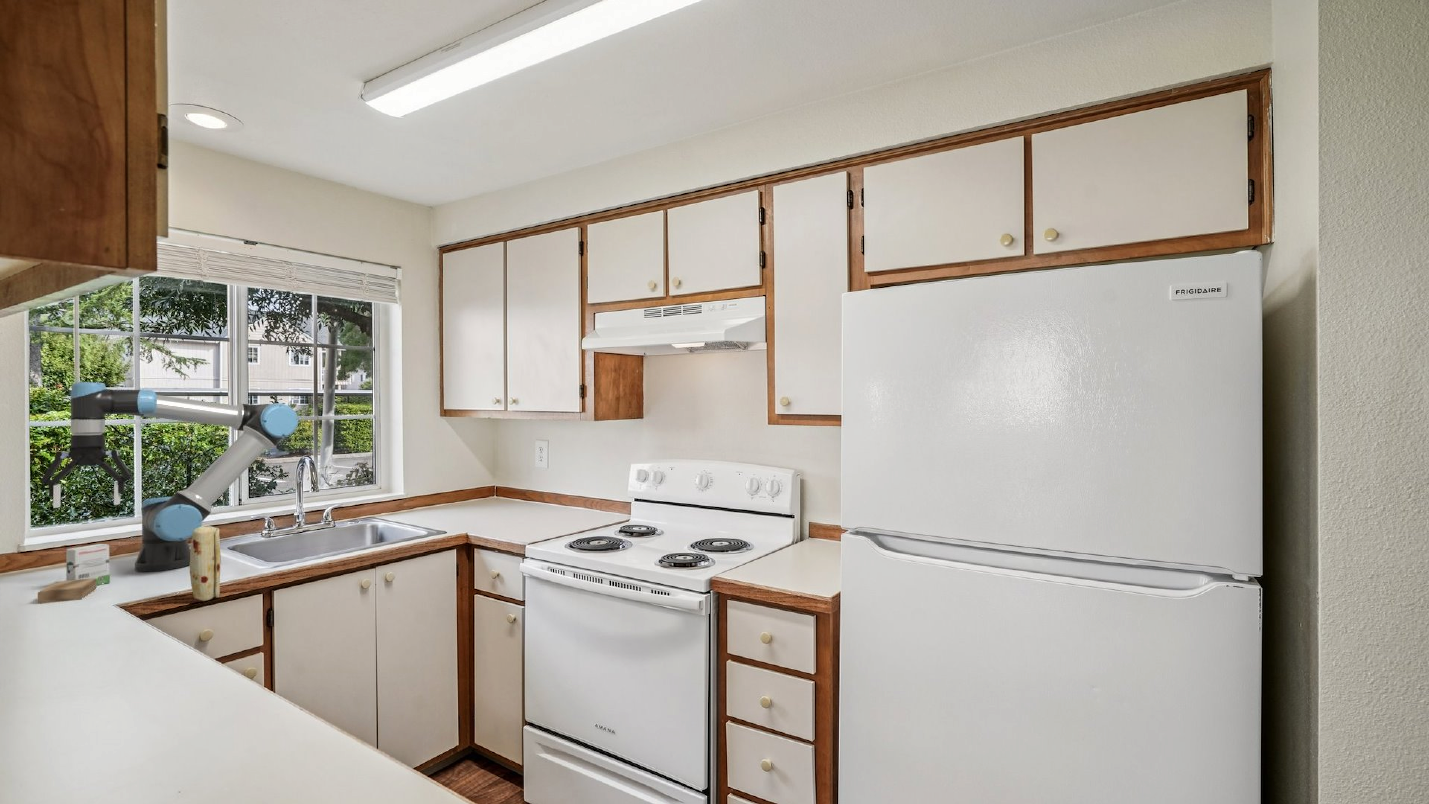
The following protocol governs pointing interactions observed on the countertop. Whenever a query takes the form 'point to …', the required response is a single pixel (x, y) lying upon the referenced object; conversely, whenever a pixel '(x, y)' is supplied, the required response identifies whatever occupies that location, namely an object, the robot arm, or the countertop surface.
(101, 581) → the ink box
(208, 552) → the food model
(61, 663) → the countertop surface
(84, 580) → the base
